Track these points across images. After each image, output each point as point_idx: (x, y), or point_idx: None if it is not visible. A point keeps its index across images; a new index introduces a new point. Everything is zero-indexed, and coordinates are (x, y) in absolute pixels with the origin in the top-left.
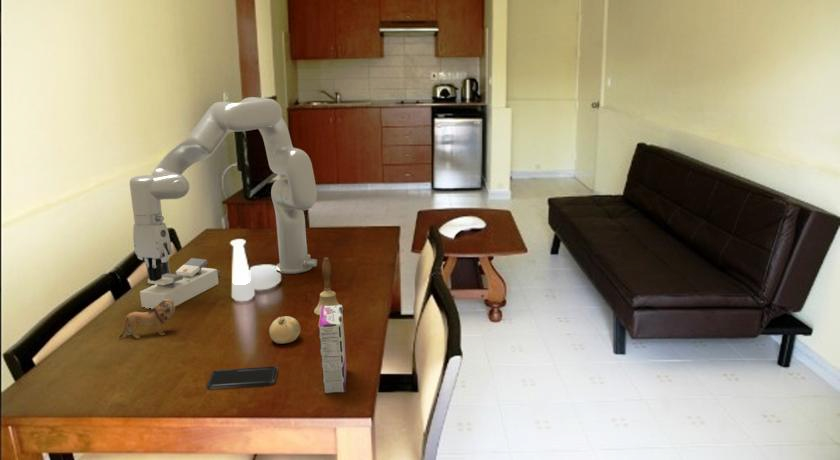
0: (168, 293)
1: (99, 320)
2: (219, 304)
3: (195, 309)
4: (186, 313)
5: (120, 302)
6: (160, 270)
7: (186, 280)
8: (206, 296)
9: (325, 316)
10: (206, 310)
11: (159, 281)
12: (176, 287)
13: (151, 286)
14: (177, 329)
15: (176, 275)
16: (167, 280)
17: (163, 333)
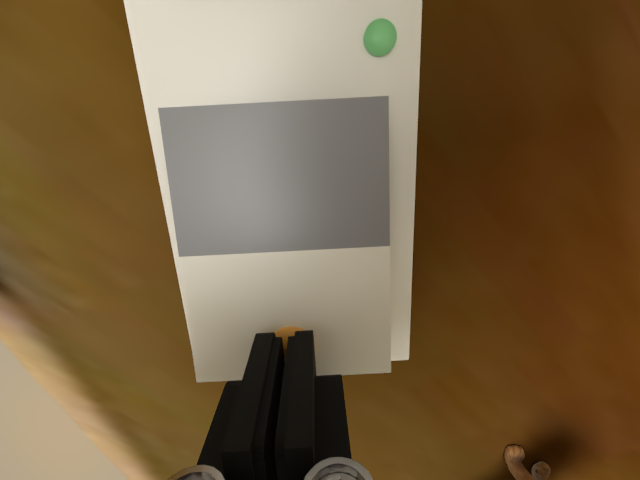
0: (409, 319)
1: (181, 464)
2: (631, 116)
3: (525, 230)
4: (509, 287)
5: (52, 299)
6: (347, 427)
7: (348, 31)
8: (469, 24)
9: None
10: (596, 219)
11: (340, 371)
12: (391, 217)
13: (180, 269)
14: (573, 421)
15: (329, 135)
16: (389, 323)
17: (549, 473)
